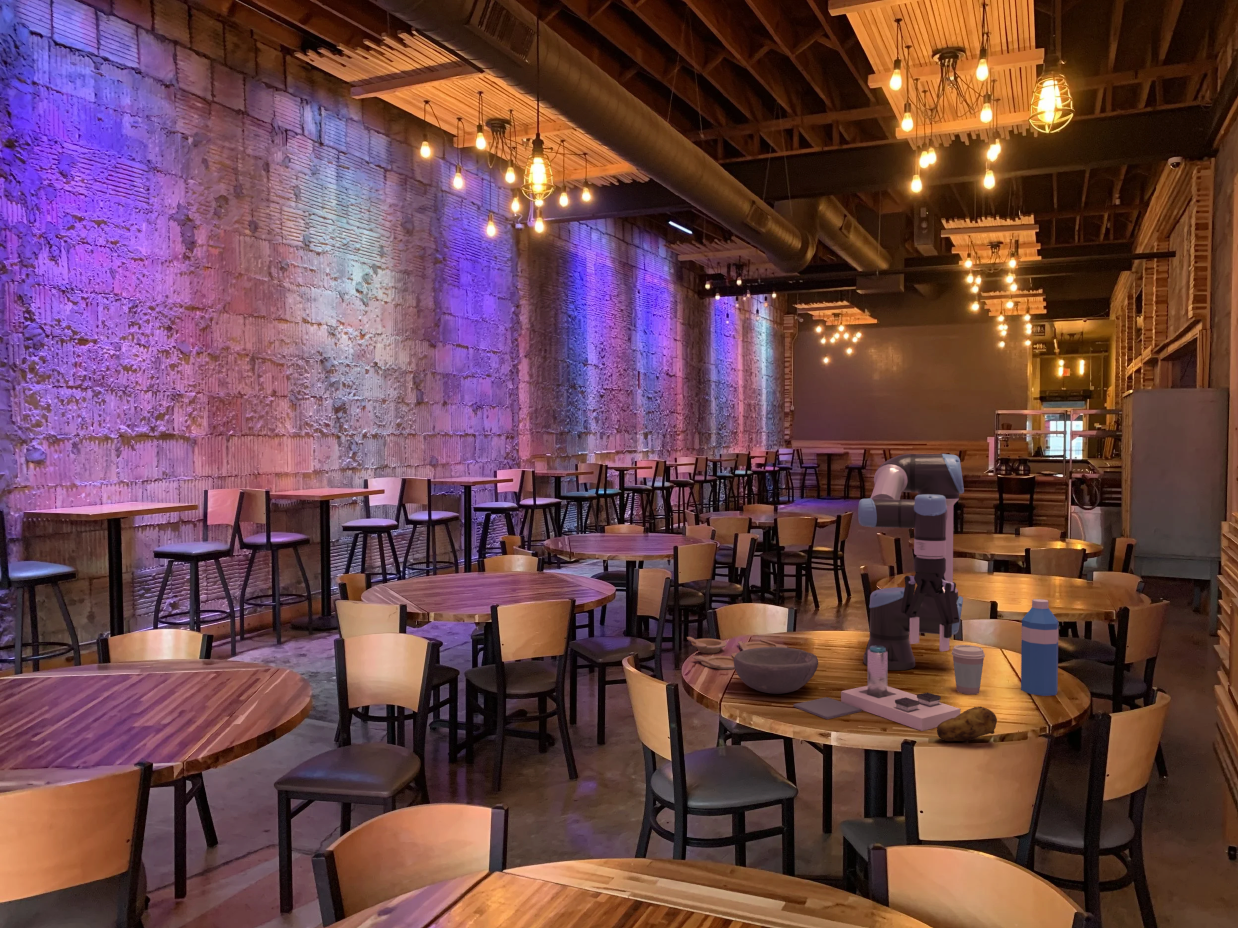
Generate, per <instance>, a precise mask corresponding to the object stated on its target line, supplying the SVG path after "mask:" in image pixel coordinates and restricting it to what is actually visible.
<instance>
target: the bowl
mask: <svg viewBox="0 0 1238 928" xmlns="http://www.w3.org/2000/svg"><path fill="white" fill-rule="evenodd" d="M736 653H737V654H736V655H735V657H734V667H735V669H734V670H735V672H736V675H737V676H738V678H739V679H740V680H741V681H742V682H743V683H744V684H745V685H746V686H748V687H750V688H751V689H753V690H756V691H758V692H761V693H766V694H774V695H777V694H779V695H782V694H789V693H792V692H796V691H798V690H799V689H801V688H803V686H805V685H806V684H808V682H809V681H810V680H811V679H812V678H813V676H814V675H815V673H817V670H818V666H819V659H818V656H817V655H815V654H814V653H811V652H808V651H806V650H803V649H799V648H792V647H788V648H785V647H761V648H753V649H747V650H741V651H738V652H736Z"/></svg>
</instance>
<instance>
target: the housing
mask: <svg viewBox="0 0 1238 928" xmlns="http://www.w3.org/2000/svg"><path fill="white" fill-rule="evenodd" d="M917 695H918V694H914V693H911V692H909V691H908V692H907V691H904V690H901V689H898V688H895V687H892V686H889V685H887V697H882V698H876V697H873V696H870V695H867V685H865V686H859V687H856V688H855V687H854V688H850V689H845V690H842V691H840V702H843V703H846V704H849V705H851V706H854V707H857V708H860V709H861V711H863V712H866V713H870V714H873V715H875V716H878V717H881V718H883V719H884V718H885V719H886V720H890V721H893V722H895V723H898V724H901V725H903V726H905V727H906V726H907V727H910V728H912V729H915V730H918V731H921V732H923V731H927V730H931V729H935V728H937V727H938V725H939V724H940V723H942V722H944V721H946V720H948V719H951V718H955V717H957V716H958V715H959V714H961V708H959V707H955V706H952V705H949V704H946V703H943V702H940V701H939V705H938V706H933V707H928V706H925V705H921V704H919V705H918V710H917V711H913V712H909V713H908V712H905V711H902V710H899V709H896V703H895V700H897V699H901V698H909V699H913V700H916V701H918V698H917Z"/></svg>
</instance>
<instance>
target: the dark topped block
mask: <svg viewBox="0 0 1238 928" xmlns="http://www.w3.org/2000/svg"><path fill="white" fill-rule="evenodd" d="M916 695H917V698H918V701H919V704H921V705H925V706H928V707H933V706H938V705H939V702H940V701H941V700H942V699H941V696H940V695H937V694H934V693H932V692H931V693H930V692H924V693H923V692H922V693H919V694H916Z"/></svg>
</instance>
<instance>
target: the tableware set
mask: <svg viewBox="0 0 1238 928" xmlns="http://www.w3.org/2000/svg"><path fill="white" fill-rule="evenodd" d="M686 640H688V641H690V642H691V645H692V646H693V647H696V649H697V651H698V652H700V653H702V654H717V653H720V651H721V649H722V648H725V647H726V646H727V645H728V644H727V642H726V641H725V640H722V639H717V638H716V639H715V638H697V639H695V638H694V637H692V636H686ZM737 644H738V645H739V649H741V651H743V650H747V649H753V648H761V647H785V648H789V647H788V646H787V645H784V644H781V643H780V644H778V643H776V642H773V641H770V640H768V639H764V638H761V639H760V641H748V642H743V641H742V640H739V641H737ZM737 653H738V652H734V653H733V652H732V653H731V654H730V656H728V655H713V656H712V655H711V656H706V657H704V656H702V655H696V656H692V658H693V659H694V660H696V661H698V662H700V663H701V665H702V666H705V667H707V668H711V669H717V670H718V669H719V670H735V667H734V657H735V655H736V654H737Z"/></svg>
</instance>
